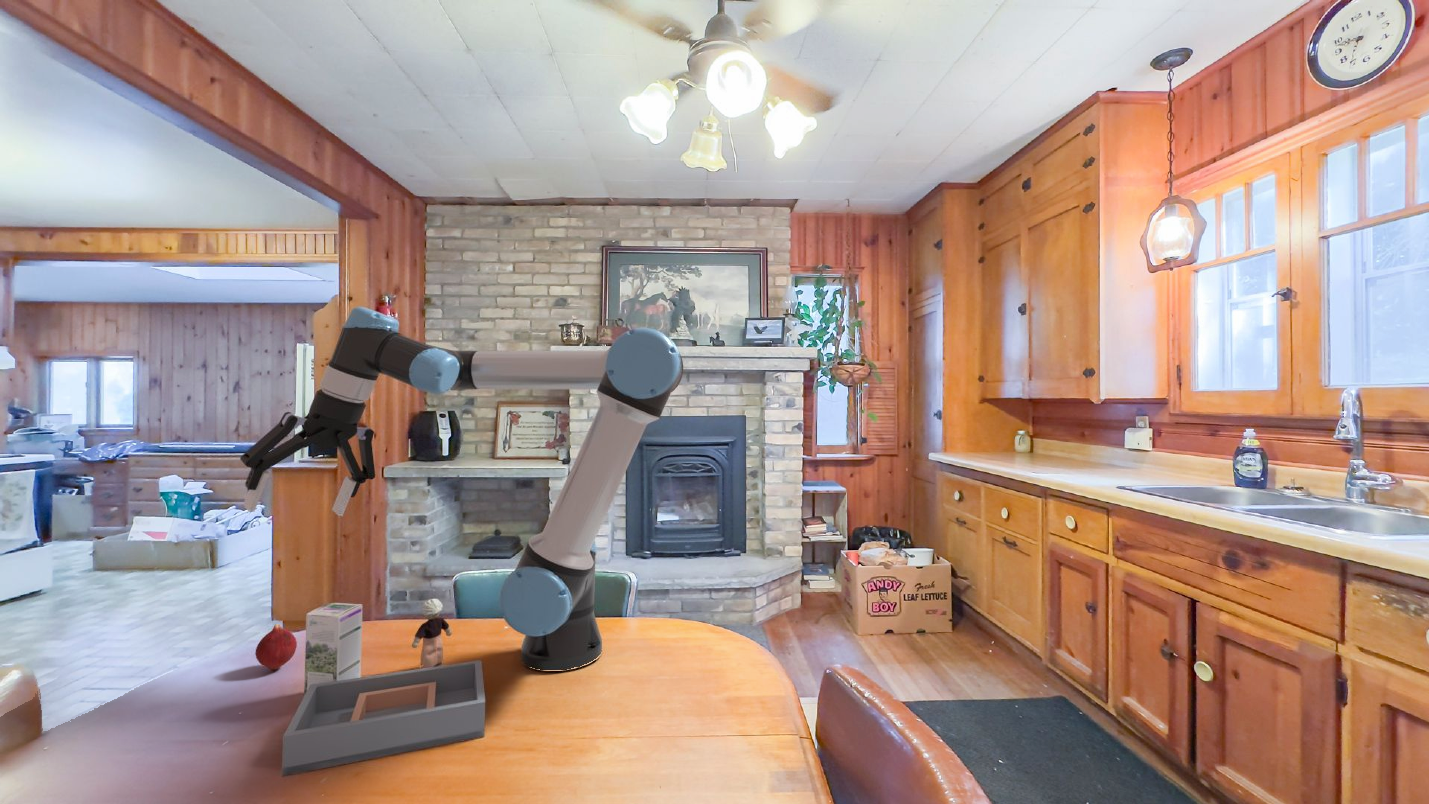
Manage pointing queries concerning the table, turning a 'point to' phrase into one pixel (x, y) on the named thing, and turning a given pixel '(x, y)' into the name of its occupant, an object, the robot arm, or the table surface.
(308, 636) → the syrup box
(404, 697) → the walled box
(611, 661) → the table surface
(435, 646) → the grandmother figurine
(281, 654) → the onion
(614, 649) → the table surface
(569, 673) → the table surface
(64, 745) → the table surface
